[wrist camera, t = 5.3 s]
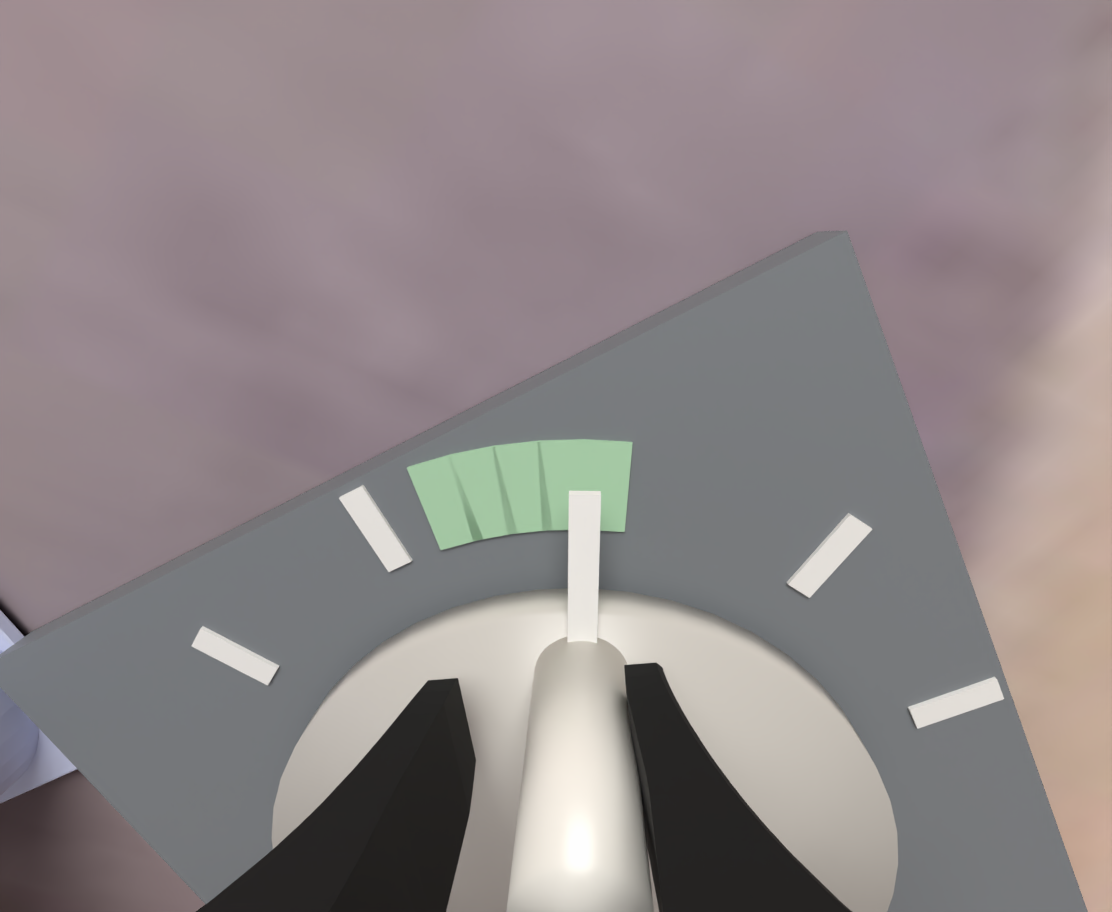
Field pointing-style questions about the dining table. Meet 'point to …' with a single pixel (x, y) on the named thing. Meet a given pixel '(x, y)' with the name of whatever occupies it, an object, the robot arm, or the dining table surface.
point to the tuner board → (624, 565)
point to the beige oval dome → (605, 741)
